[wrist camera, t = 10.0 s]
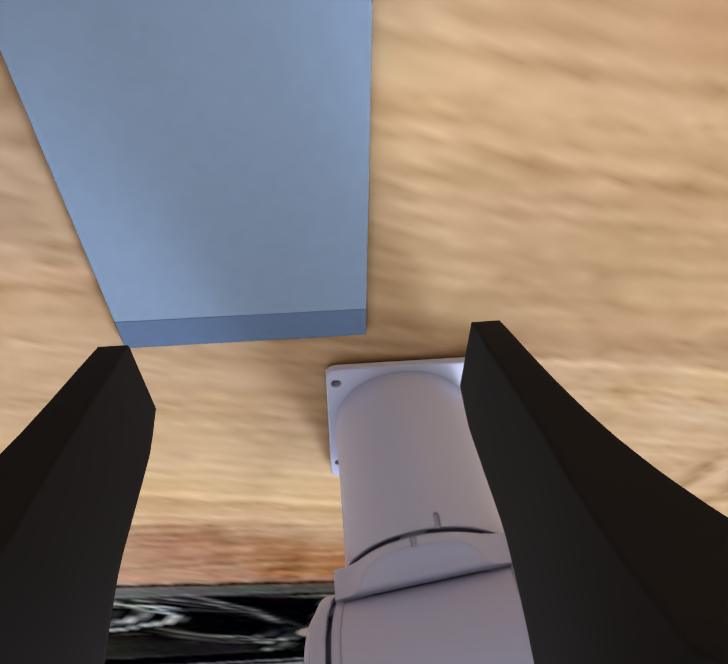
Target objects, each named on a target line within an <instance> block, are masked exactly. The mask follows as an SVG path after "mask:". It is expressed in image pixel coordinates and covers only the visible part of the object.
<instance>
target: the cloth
mask: <svg viewBox="0 0 728 664" xmlns="http://www.w3.org/2000/svg"><path fill="white" fill-rule="evenodd" d="M371 37H372V0H0V51H1V53H2V56H3V58H4V61H5V63H6V65H7V68H8V70H9V72H10V75H11V77H12V80H13V82H14V84H15V87H16V89H17V91H18V94H19V96H20V99H21V101H22V103H23V106H24V108H25V110H26V113H27V115H28V118H29V120H30V122H31V125H32V127H33V129H34V132H35V134H36V137H37V139H38V141H39V144H40V146H41V148H42V151H43V153H44V156H45V158H46V160H47V163H48V165H49V167H50V170H51V172H52V175H53V177H54V179H55V182H56V184H57V186H58V189H59V191H60V194H61V196H62V198H63V201H64V203H65V205H66V208H67V210H68V213H69V215H70V217H71V220H72V222H73V224H74V227H75V229H76V232H77V234H78V236H79V239H80V241H81V243H82V246H83V248H84V251H85V253H86V255H87V258H88V260H89V262H90V265H91V267H92V270H93V272H94V274H95V277H96V279H97V281H98V284H99V286H100V289H101V291H102V293H103V296H104V298H105V300H106V303H107V305H108V308H109V310H110V312H111V315H112V317H113V319H114V322H115V325H116V327H117V329H118V332H119V334H120V337H121V339H122V341H123V344H124V345H129V348H138V347H155V346H173V345H190V344H208V343H225V342H242V341H260V340H277V339H295V338H312V337H330V336H347V335H365V334H366V302H367V249H368V196H369V143H370V90H371Z"/></svg>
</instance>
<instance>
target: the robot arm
mask: <svg viewBox="0 0 728 664" xmlns="http://www.w3.org/2000/svg"><path fill="white" fill-rule="evenodd" d="M335 380H339V381H335ZM326 390H327V407H328V425H329V442H330V460H331V472H332V473H333V474H334V475H340V489H341V504H342V518H343V532H344V547H345V561H346V567H344V568H340V569H336V570H335V571H334V585H335V595H332V596H328V597H326V598H324V599H323V600H322V601H321V602H320V604H319V606H318V608H317V610H316V613H315V615H314V617H313V619H312V621H311V623H310V625H309V629H308V633H307V637H306V643H305V653H304V664H728V517H726V516H725V515H723V514H721V513H720V512H718V511H717V510H715V509H714V508H712V507H711V506H709V505H707V504H706V503H705V502H703V501H702V500H700V499H699V498H697V497H696V496H694V495H693V494H691V493H690V492H689V491H687V490H686V489H684V488H683V487H681V486H680V485H678V484H677V483H675V482H674V481H673V480H671V479H670V478H668V477H667V476H666V475H664V474H663V473H662V472H660V471H659V470H657V469H656V468H655V467H653V466H652V465H651V464H649V463H648V462H647V461H646V460H644V459H643V458H642V457H641V456H639V455H638V454H637V453H635V452H634V451H633V450H632V449H630V448H629V447H628V446H627V445H625V444H624V443H623V442H622V441H620V440H619V439H618V438H617V437H616V436H614V435H613V434H612V433H611V432H610V431H609V430H607V429H606V428H605V427H604V426H603V425H602V424H601V423H600V422H598V421H597V420H596V419H595V418H594V417H593V416H592V415H591V414H590V413H589V412H587V411H586V410H585V409H584V408H583V407H582V406H581V405H580V404H579V403H578V402H577V401H576V400H575V399H574V398H573V397H572V396H571V395H570V394H569V393H568V392H567V391H566V390H565V389H564V388H563V387H562V386H561V385H560V384H559V383H558V382H557V381H556V380H555V379H554V378H553V377H552V376H551V375H550V374H549V373H548V372H547V371H546V370H545V369H544V368H543V367H542V366H541V365H540V364H539V363H538V362H537V361H536V359H535V358H534V357H533V356H532V355H531V354H530V353H529V352H528V351H527V350H526V349H525V348H524V346H523V345H522V344H521V343H520V342H519V341H518V340H517V339H516V338H515V337H514V335H513V334H512V333H511V332H510V331H509V330H508V329H507V328H506V327H505V326H504V325H503V324H502V323H501V322H500V321H484V322H472V323H471V329H470V334H469V339H468V345H467V350H466V356H465V357H457V358H440V359H424V360H408V361H392V362H375V363H359V364H343V365H333V366H330V367H328V368H327V369H326ZM155 411H156V408H155V405H154V403H153V401H152V399H151V396H150V394H149V392H148V389H147V387H146V385H145V382H144V380H143V378H142V375H141V373H140V371H139V369H138V366H137V364H136V362H135V359H134V357H133V355H132V352H131V350H130V348H129V345H123V346H107V347H98V348H97V349H96V350H95V351H94V352H93V353H92V354H91V355H90V357H89V358H88V359H87V360H86V361H85V362H84V363H83V364H82V366H81V367H80V368H79V369H78V370H77V371H76V372H75V373H74V375H73V376H72V377H71V378H70V379H69V380H68V381H67V383H66V384H65V385H64V386H63V387H62V388H61V389H60V390H59V392H58V393H57V394H56V395H55V396H54V397H53V398H52V400H51V401H50V402H49V403H48V404H47V405H46V406H45V407H44V408H43V410H42V411H41V412H40V413H39V414H38V415H37V416H36V417H35V418H34V419H33V420H32V422H31V423H30V424H29V425H28V426H27V427H26V428H25V429H24V430H23V431H22V432H21V434H20V435H19V436H18V437H17V438H16V439H15V440H14V441H13V442H12V443H11V444H10V445H9V446H8V447H7V448H6V449H5V450H4V451H3V452H2V453H1V454H0V664H104V663H105V656H106V649H107V642H108V634H109V627H110V621H111V615H112V609H113V603H114V596H115V590H116V584H117V578H118V573H119V569H120V564H121V560H122V556H123V552H124V548H125V544H126V541H127V537H128V533H129V530H130V526H131V522H132V519H133V515H134V511H135V508H136V504H137V500H138V497H139V493H140V489H141V486H142V482H143V478H144V474H145V471H146V467H147V463H148V459H149V455H150V450H151V443H152V436H153V428H154V420H155Z"/></svg>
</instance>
